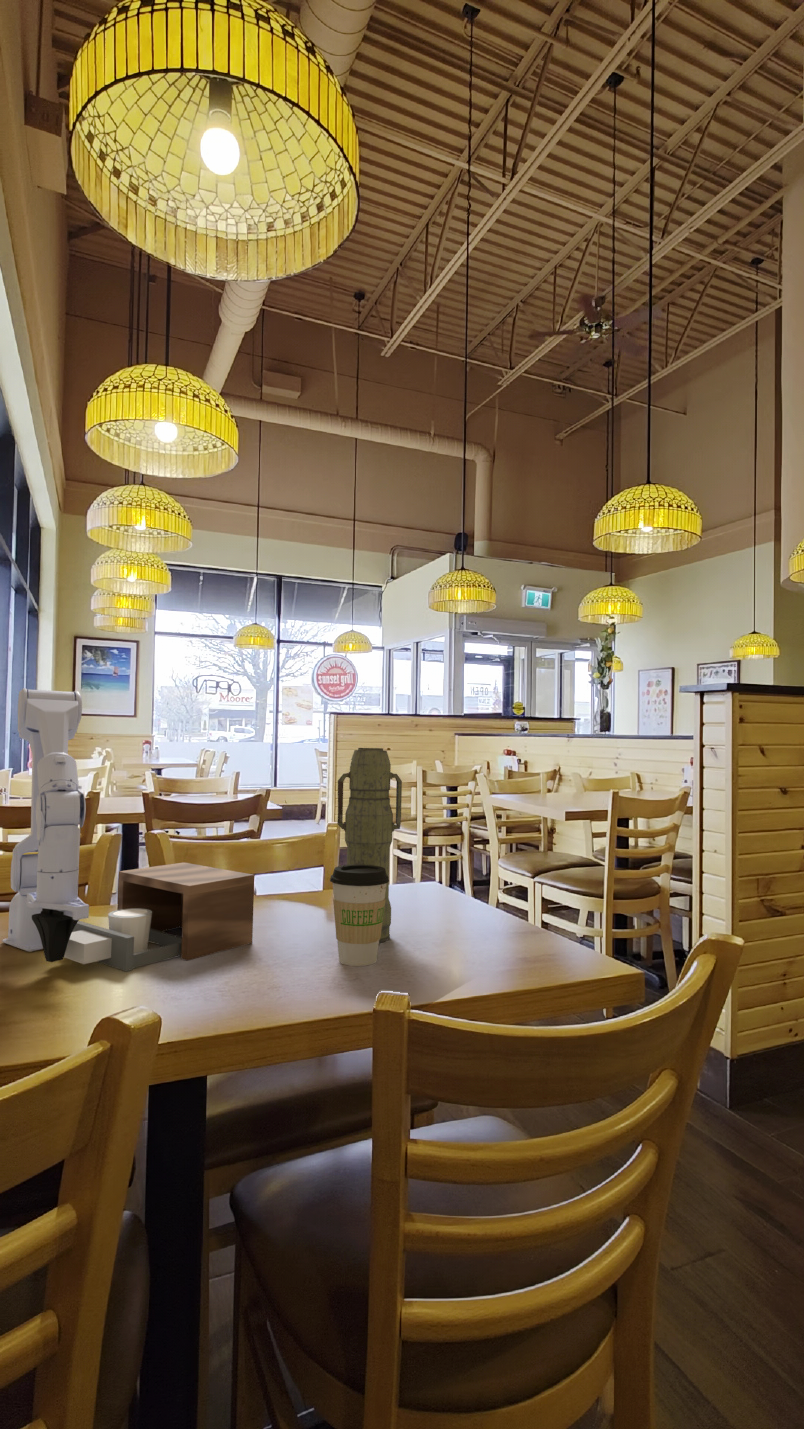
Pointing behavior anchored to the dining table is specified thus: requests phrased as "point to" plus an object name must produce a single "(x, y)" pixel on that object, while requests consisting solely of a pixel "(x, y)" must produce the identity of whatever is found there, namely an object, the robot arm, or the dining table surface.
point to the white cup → (132, 925)
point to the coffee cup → (358, 911)
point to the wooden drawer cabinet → (193, 904)
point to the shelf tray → (118, 947)
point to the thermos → (370, 815)
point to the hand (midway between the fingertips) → (54, 960)
